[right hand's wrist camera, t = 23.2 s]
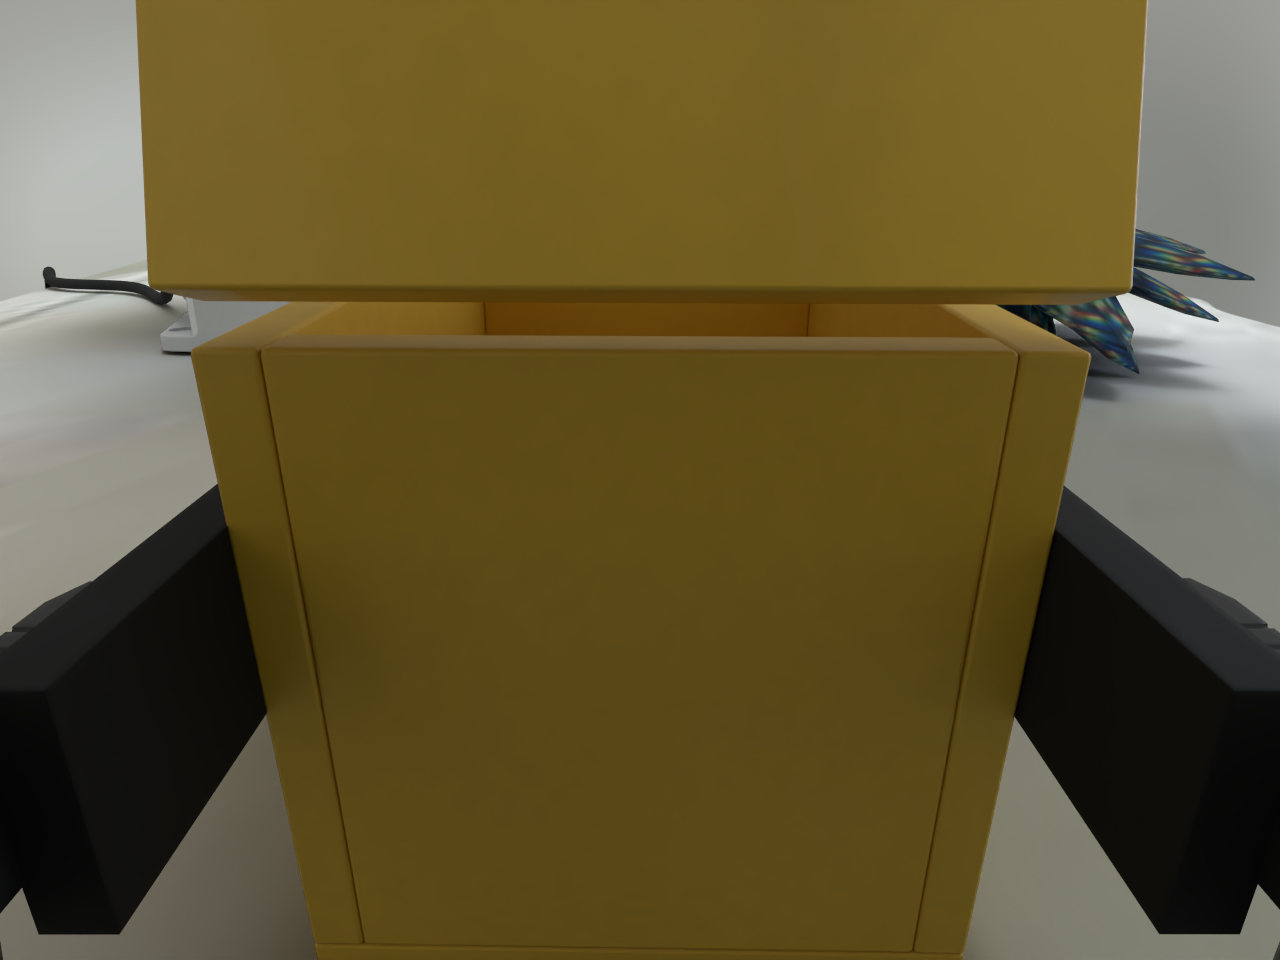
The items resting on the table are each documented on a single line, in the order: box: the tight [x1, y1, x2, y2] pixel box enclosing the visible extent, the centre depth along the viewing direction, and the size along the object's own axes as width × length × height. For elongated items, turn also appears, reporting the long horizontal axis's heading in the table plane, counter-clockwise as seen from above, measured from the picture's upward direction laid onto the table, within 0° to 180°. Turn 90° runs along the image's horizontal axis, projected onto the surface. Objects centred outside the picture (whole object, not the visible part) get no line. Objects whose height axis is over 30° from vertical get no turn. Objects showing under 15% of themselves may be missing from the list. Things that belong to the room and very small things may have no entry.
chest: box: [191, 302, 1091, 960], centre depth 17 cm, size 13×10×10 cm
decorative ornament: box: [997, 229, 1255, 374], centre depth 54 cm, size 31×8×30 cm
